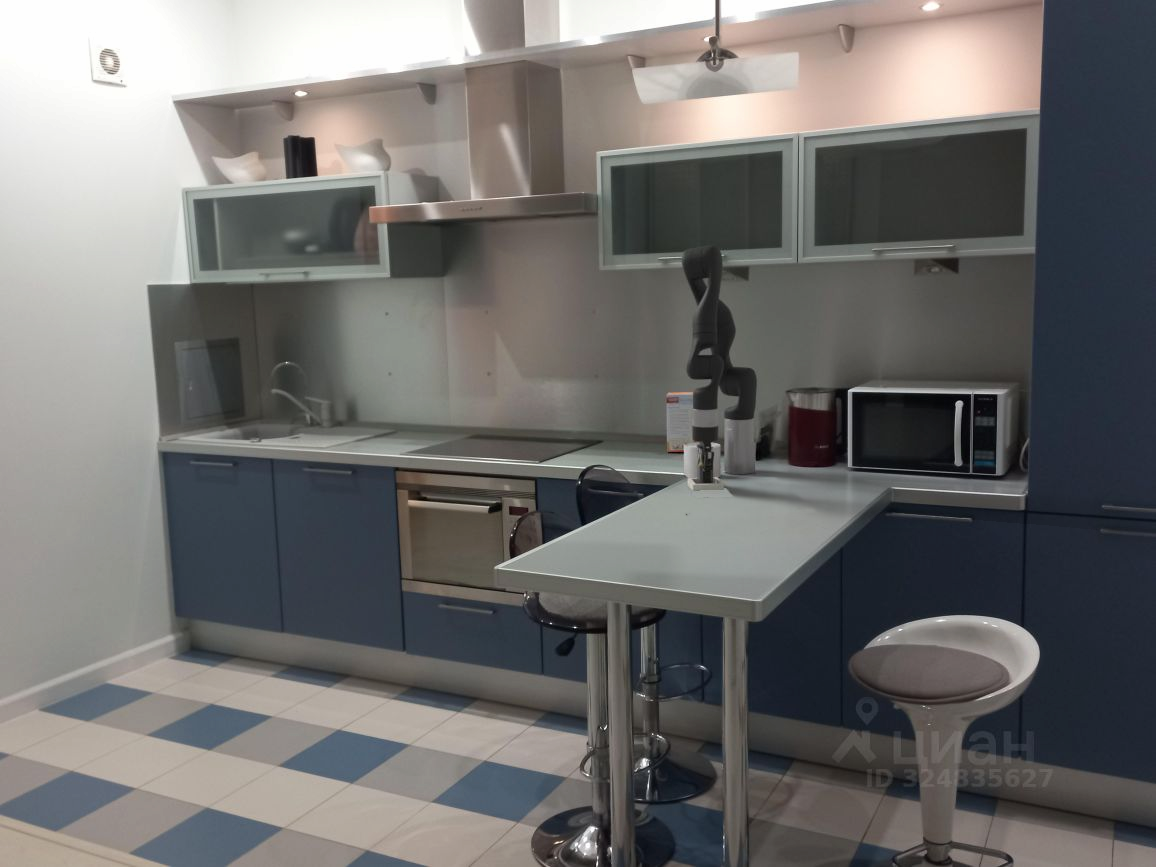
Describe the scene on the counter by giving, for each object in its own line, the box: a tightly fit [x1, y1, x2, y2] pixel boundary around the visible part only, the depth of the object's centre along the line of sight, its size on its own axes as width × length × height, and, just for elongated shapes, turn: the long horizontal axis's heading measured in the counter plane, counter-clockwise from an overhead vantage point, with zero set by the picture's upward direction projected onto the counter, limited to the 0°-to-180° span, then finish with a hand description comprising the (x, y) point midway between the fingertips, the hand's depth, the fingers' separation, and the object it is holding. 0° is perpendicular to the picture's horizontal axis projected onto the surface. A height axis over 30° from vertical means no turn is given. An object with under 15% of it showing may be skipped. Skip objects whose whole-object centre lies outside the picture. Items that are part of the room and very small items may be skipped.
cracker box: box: [665, 391, 698, 452], centre depth 361 cm, size 14×6×21 cm, turn 80°
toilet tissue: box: [683, 441, 722, 479], centre depth 320 cm, size 11×12×10 cm
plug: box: [697, 463, 713, 484], centre depth 300 cm, size 4×4×7 cm
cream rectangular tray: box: [687, 477, 727, 491], centre depth 297 cm, size 11×18×3 cm, turn 4°
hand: (705, 481), depth 300 cm, fingers closed on plug, 3 cm apart
